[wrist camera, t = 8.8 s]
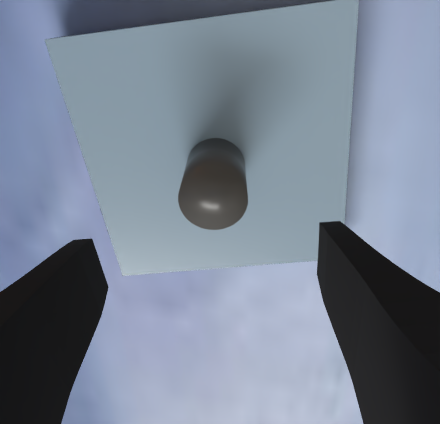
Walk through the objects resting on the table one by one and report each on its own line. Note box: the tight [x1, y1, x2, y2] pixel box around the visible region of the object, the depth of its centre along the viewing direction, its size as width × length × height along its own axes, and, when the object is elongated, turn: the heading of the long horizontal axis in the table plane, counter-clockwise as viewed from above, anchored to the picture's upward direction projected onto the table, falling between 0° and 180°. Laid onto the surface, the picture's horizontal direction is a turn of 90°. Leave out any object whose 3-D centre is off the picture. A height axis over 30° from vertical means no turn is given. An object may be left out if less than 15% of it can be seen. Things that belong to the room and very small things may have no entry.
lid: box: [45, 0, 359, 276], centre depth 17 cm, size 13×13×5 cm
